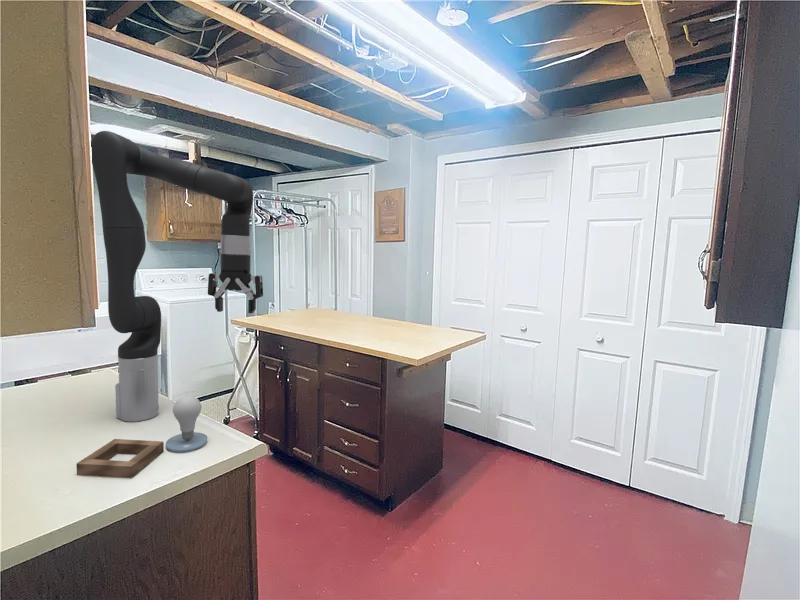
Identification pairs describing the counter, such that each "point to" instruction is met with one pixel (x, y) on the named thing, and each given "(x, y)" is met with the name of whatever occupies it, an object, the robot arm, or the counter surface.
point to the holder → (126, 469)
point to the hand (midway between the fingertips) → (235, 312)
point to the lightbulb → (187, 415)
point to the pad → (186, 443)
